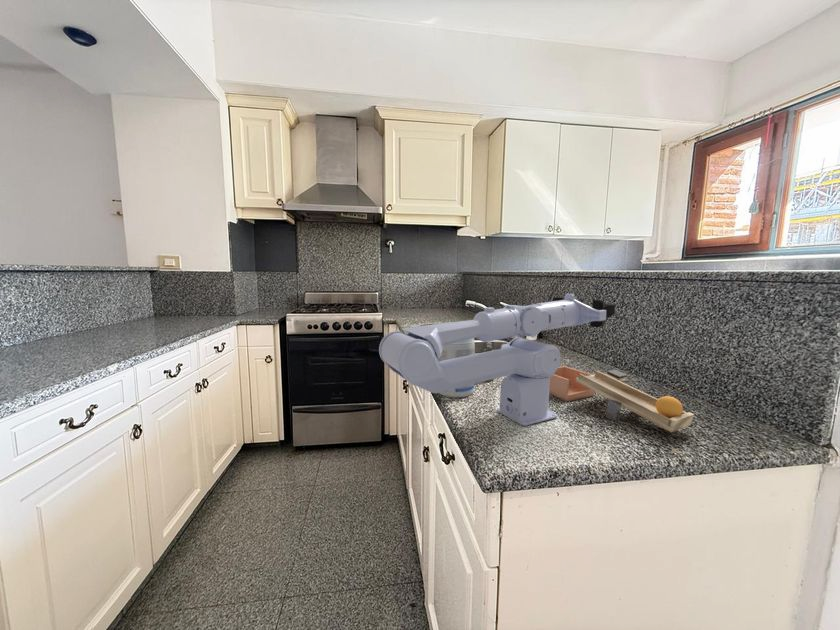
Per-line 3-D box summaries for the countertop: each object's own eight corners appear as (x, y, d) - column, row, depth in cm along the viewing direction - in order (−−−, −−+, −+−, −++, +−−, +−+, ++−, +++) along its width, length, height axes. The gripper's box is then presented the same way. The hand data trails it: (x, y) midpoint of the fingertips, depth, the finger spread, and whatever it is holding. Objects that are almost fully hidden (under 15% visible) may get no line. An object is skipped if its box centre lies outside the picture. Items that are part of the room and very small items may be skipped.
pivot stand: (616, 421, 64) (617, 404, 64) (606, 417, 66) (607, 400, 66) (644, 412, 68) (646, 396, 68) (634, 409, 70) (636, 393, 70)
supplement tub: (474, 386, 84) (475, 331, 82) (473, 400, 75) (475, 338, 73) (437, 384, 86) (438, 330, 84) (432, 397, 77) (433, 336, 75)
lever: (671, 432, 57) (674, 420, 56) (575, 381, 74) (577, 371, 73) (708, 418, 63) (712, 408, 62) (612, 373, 80) (614, 365, 79)
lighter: (494, 382, 88) (496, 346, 87) (482, 381, 89) (483, 345, 88) (494, 373, 96) (495, 340, 95) (482, 372, 97) (483, 340, 95)
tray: (568, 401, 74) (569, 380, 74) (537, 389, 83) (538, 370, 82) (594, 395, 78) (596, 375, 78) (563, 384, 87) (564, 366, 86)
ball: (671, 424, 58) (678, 405, 57) (648, 412, 61) (654, 393, 60) (683, 420, 60) (690, 401, 59) (660, 408, 63) (666, 390, 62)
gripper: (585, 298, 60) (629, 291, 66) (528, 294, 73) (569, 289, 79) (584, 334, 61) (628, 325, 67) (528, 324, 74) (569, 317, 80)
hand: (596, 307), depth 73 cm, fingers open, 7 cm apart
